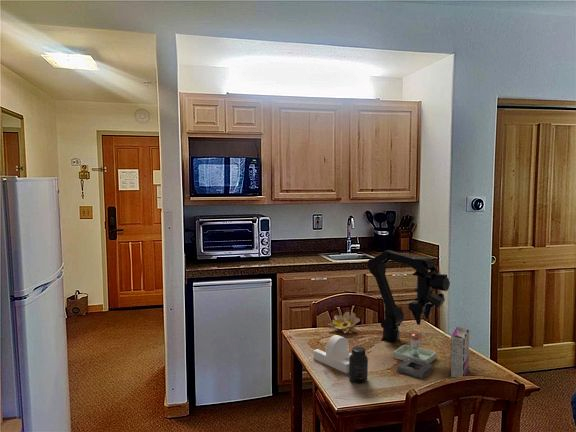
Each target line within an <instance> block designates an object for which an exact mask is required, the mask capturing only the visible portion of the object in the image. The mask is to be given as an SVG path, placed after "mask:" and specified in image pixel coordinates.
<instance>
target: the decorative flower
mask: <svg viewBox="0 0 576 432" xmlns="http://www.w3.org/2000/svg"><path fill="white" fill-rule="evenodd" d="M333 317H334V319H332V322H330V323H327V325H328V326H331V327H334V328H336V329H337V330H340V331H342V332H343V333H344V334H346V333H348V332H350V333H352V334H353V332H356V333H357V332H358V329H357V328H355V327H354V326H355V325H356V324H357V323H359V322H360V321H361V319H360V318H359V317H356V313H355V312H352V313H350V312H349V311H346V312H344V313H343V315H337V314H336V315H334V316H333Z"/></svg>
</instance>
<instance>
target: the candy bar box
mask: <svg viewBox="0 0 576 432" xmlns="http://www.w3.org/2000/svg"><path fill="white" fill-rule="evenodd" d="M450 337H451V340H450V341H451V343H450V350H451V351H450V358H451V359H450V378H452V379H454V378H453V377H460V376H465V377H466V375H467V373H468V371H469V367H470V366H469V365H470V364H469V363H470V362H469V359H470V356H469V355H470V328H466V327H459V326H456V327H455V329H454V331H453V333H452V334H451V336H450Z"/></svg>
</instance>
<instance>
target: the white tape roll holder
mask: <svg viewBox="0 0 576 432" xmlns="http://www.w3.org/2000/svg"><path fill="white" fill-rule="evenodd" d="M349 345H350V343H349V341H348V339H347V338H346V337H344V336H341V335H337V334H335V335H331V337H329V340H328V341H327V343H326V345H325V351H323V350H321V349H318V348H317V349H313V359H314V360H316V361H318V362H320V363H322V364H324V365H327V366H328V367H332V368H333V369H334V370H335V369H336V370H338V371H340V372H342V373H345V374H349V357H350V355H351V354H352V352H349V350H350V347H349Z"/></svg>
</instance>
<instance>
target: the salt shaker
mask: <svg viewBox="0 0 576 432" xmlns="http://www.w3.org/2000/svg"><path fill="white" fill-rule="evenodd" d="M408 333H409V332H408ZM408 335H409V338H410V356H412V357H416V358H419V348H420V343H421V341H420V340H421V338H422V334H421V333H419V332H415V331H414V332H412V331H411V332H410V333H409V334H408Z"/></svg>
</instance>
